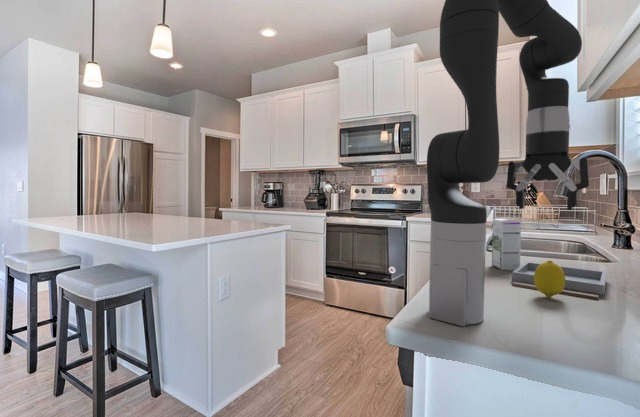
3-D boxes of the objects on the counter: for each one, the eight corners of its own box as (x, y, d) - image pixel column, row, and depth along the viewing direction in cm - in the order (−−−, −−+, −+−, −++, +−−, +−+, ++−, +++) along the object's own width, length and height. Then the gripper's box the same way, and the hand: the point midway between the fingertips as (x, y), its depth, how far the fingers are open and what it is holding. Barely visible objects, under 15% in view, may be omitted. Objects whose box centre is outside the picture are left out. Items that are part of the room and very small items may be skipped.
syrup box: (521, 270, 97) (522, 219, 96) (500, 270, 97) (501, 219, 97) (510, 265, 103) (511, 218, 102) (490, 265, 103) (492, 218, 102)
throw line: (598, 299, 71) (598, 297, 71) (512, 285, 81) (512, 283, 81) (598, 298, 72) (598, 295, 72) (513, 284, 83) (513, 281, 83)
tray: (603, 296, 73) (604, 285, 73) (512, 281, 85) (512, 272, 84) (606, 281, 85) (606, 271, 85) (525, 270, 97) (526, 261, 97)
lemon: (569, 302, 69) (571, 263, 68) (539, 300, 70) (541, 262, 70) (556, 294, 74) (558, 258, 74) (528, 293, 75) (530, 257, 75)
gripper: (504, 134, 72) (503, 209, 74) (589, 125, 63) (586, 211, 64) (512, 137, 78) (511, 207, 79) (591, 129, 69) (588, 209, 70)
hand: (545, 209), depth 72 cm, fingers open, 8 cm apart
